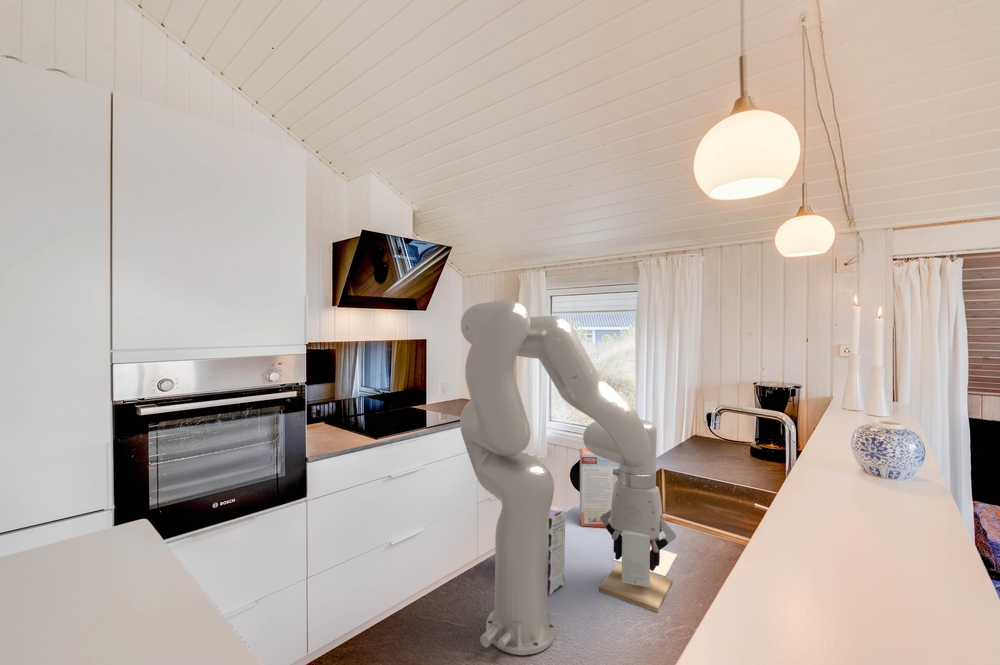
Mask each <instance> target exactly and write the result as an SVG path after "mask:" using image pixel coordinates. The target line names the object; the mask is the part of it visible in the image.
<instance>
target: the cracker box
mask: <svg viewBox="0 0 1000 665" xmlns="http://www.w3.org/2000/svg"><path fill="white" fill-rule="evenodd" d="M579 458H580V459H579V520H580V525H581V527H583V526H586V527H587V526H590V528H606V526H605V525H604V524H603V522H602V521H601V519H600V517H601V516H602V515H603V514H605V513H606V512H608V511H609V510H611V504H612V496H613V490H614V485H615V482H616V481H618V476H616V475H613V469H618V468H619V463H616V462H614V461H611V460H608V459H605V458H602V457H599V456H597V455H595V454H593V453H592V452H590V451H589V450H588V449H587V448H584V447H583V448H579ZM609 519H610V518H609ZM613 519H614V518H613Z"/></svg>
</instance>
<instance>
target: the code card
mask: <svg viewBox="0 0 1000 665" xmlns="http://www.w3.org/2000/svg"><path fill="white" fill-rule="evenodd" d="M651 549H652V547H651V545H650V551H651ZM677 556H678V554H677V553H674V552H671V551H668V550H664V549H661V550H660V562H659V566H656V568H655V569H654V571H651V570H650V573H652V574H655V575H658V576H661V577H666V576H667V574H668V572H669V571H670V569H671V567H672V565H673V563H674V562H675V560H676V557H677ZM612 560H613V561H615V562H618V563H620V564H622V556H621V558H620V559H618V560H617V559H615V557H613V559H612Z"/></svg>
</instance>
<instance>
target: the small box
mask: <svg viewBox="0 0 1000 665" xmlns="http://www.w3.org/2000/svg"><path fill="white" fill-rule="evenodd" d="M621 535H622V563H621V564H622V583H626V584H632V585H638V586H643V587H650V573H651V572H650V546H651V544H650V536H647V535H643V534H639V533H636V532H632V531H627V530H623V531H622V534H621Z"/></svg>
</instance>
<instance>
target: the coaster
mask: <svg viewBox="0 0 1000 665" xmlns="http://www.w3.org/2000/svg"><path fill="white" fill-rule="evenodd" d="M672 586H673V579H670V578H668V577H665V576H662V575H659V574H655V573H652V572H650V587H643V586H638V585H632V584H626V583H622V563H621V562H618V563H617V564H616V565H615V567H613V569H612V570H611V572H610V573H609V574H608V576H607V577H606V578H605V579H604V580H603V582H602V583H601V584H600V585H599V587H598V592H600V593H603V594H606V595H608V596H611V597H614V598H616V599H619V600H622V601H625V602H628V603H630V604H633V605H636V606H639V607H641V608H643V609H646V610H650V611H652V612H654V613H659V611H660V609H661V608H662V605H663V603H664V601H665V599H666V597H667V596H668V594H669V592H670V589H671V587H672Z"/></svg>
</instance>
